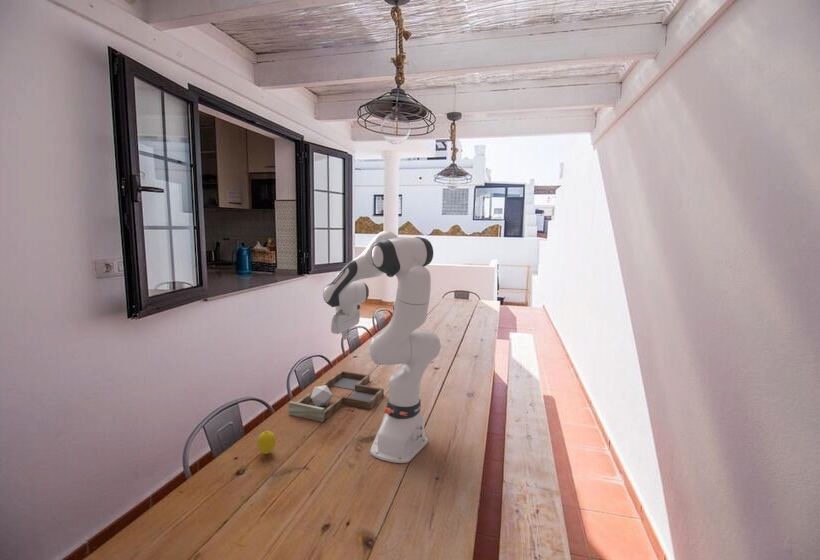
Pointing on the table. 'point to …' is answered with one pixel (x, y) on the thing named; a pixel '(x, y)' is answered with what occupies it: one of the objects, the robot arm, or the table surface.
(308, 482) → the table surface
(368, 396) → the side trap mat
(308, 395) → the box
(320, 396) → the die
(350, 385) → the end trap mat
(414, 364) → the robot arm
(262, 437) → the lemon
